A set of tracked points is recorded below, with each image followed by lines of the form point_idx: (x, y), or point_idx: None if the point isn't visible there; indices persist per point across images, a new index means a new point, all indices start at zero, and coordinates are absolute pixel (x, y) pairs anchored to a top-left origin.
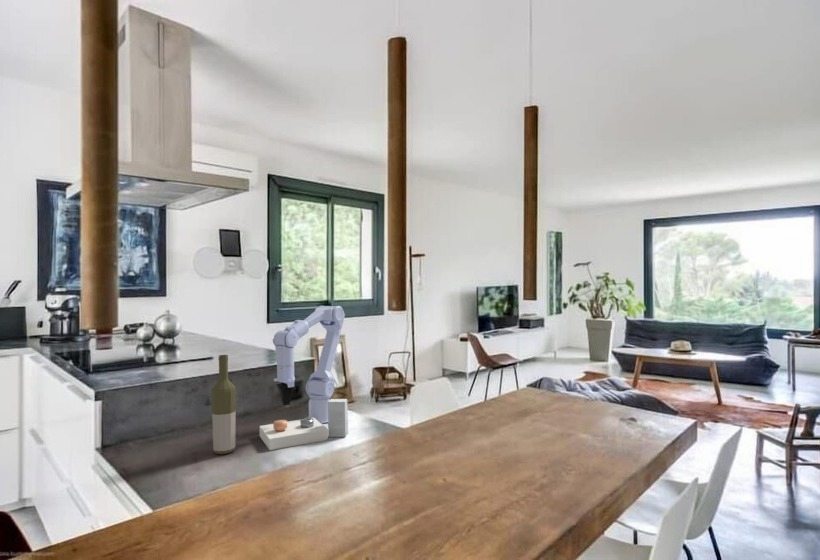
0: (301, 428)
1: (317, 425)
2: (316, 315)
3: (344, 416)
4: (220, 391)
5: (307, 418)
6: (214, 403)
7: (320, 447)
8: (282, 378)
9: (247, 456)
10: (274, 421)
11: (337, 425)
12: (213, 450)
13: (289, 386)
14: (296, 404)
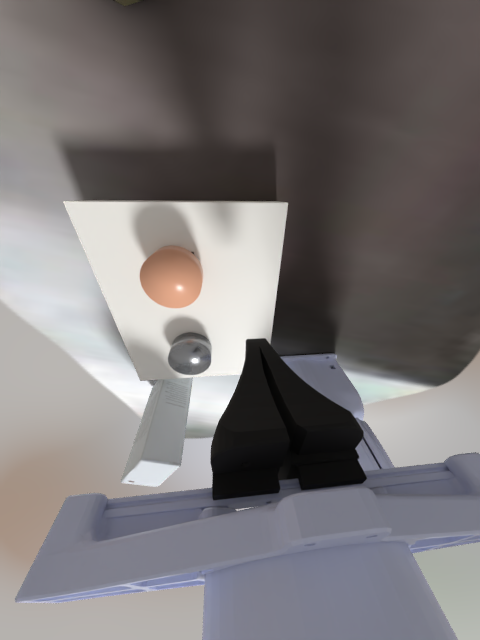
0: (173, 331)
1: None
2: None
3: (137, 433)
4: None
5: (207, 364)
6: None
7: (91, 337)
8: (225, 595)
9: (16, 71)
10: (186, 260)
11: (151, 400)
12: None
13: (64, 513)
14: (467, 356)
